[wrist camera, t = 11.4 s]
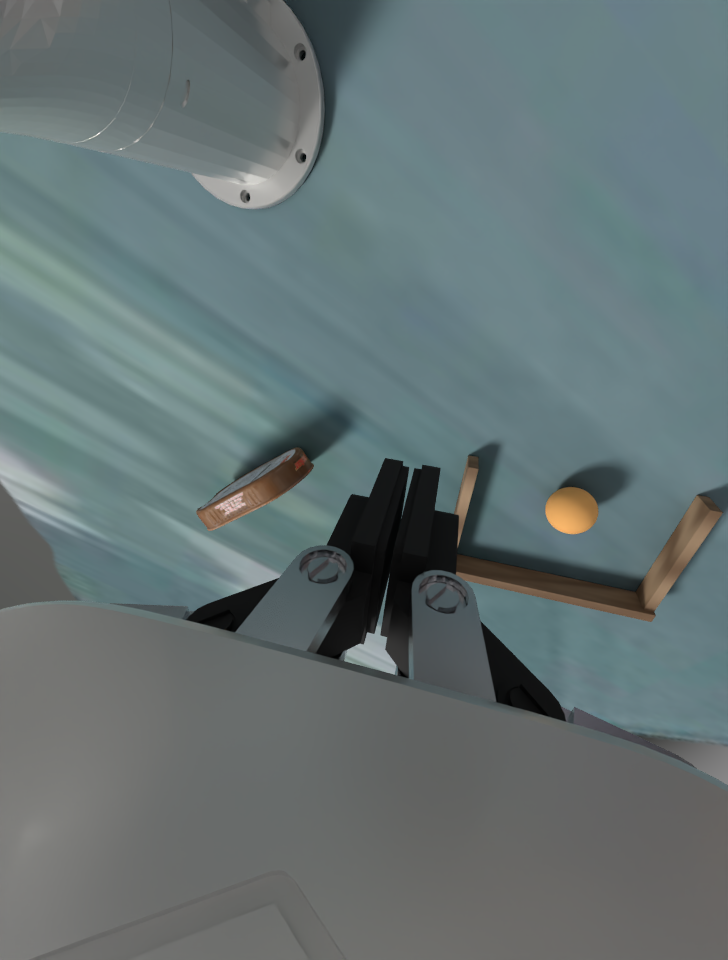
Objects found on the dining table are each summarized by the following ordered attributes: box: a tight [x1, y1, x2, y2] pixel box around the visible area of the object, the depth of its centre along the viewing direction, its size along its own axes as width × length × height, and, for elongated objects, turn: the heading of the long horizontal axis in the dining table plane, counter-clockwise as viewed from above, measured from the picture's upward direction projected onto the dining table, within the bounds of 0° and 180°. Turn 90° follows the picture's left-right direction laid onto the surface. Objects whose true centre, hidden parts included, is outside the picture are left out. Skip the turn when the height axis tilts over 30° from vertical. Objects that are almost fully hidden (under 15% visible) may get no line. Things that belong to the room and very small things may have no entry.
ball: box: [545, 487, 598, 534], centre depth 38 cm, size 4×4×4 cm
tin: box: [196, 447, 314, 531], centre depth 44 cm, size 15×3×8 cm, turn 123°
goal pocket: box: [454, 455, 723, 622], centre depth 41 cm, size 14×22×3 cm, turn 86°
